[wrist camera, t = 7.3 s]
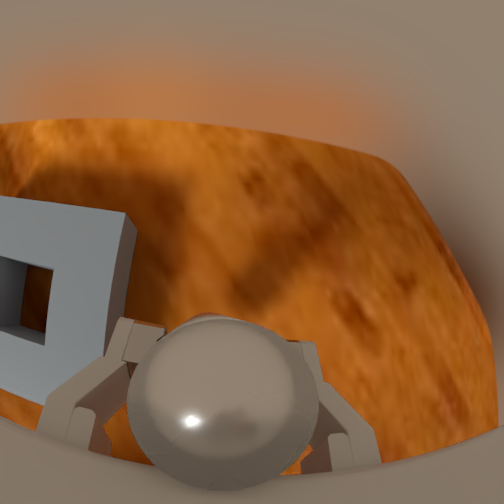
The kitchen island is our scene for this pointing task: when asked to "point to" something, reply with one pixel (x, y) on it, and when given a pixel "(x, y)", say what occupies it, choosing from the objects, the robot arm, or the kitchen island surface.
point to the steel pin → (222, 403)
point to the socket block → (60, 289)
